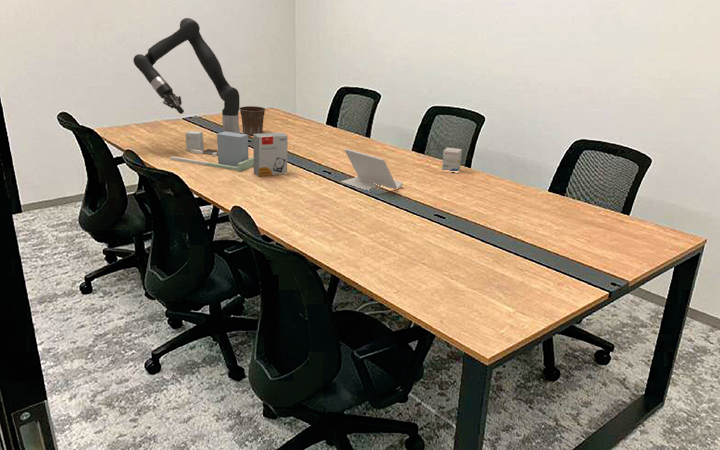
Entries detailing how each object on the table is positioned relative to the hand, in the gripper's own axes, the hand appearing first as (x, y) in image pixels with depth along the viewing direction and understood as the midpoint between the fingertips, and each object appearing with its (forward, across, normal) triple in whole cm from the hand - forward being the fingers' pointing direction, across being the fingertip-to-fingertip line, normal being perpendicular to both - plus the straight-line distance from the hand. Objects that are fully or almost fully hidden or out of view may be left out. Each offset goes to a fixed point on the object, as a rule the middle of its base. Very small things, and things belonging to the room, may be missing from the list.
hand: (182, 112), depth 309 cm
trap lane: (+31, +1, +2) cm, 31 cm away
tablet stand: (+93, +1, -60) cm, 111 cm away
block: (+39, -1, -6) cm, 39 cm away
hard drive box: (+57, -6, -23) cm, 62 cm away
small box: (+15, +12, +18) cm, 27 cm away
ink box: (+114, +46, -80) cm, 146 cm away
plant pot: (+19, +65, +15) cm, 69 cm away
